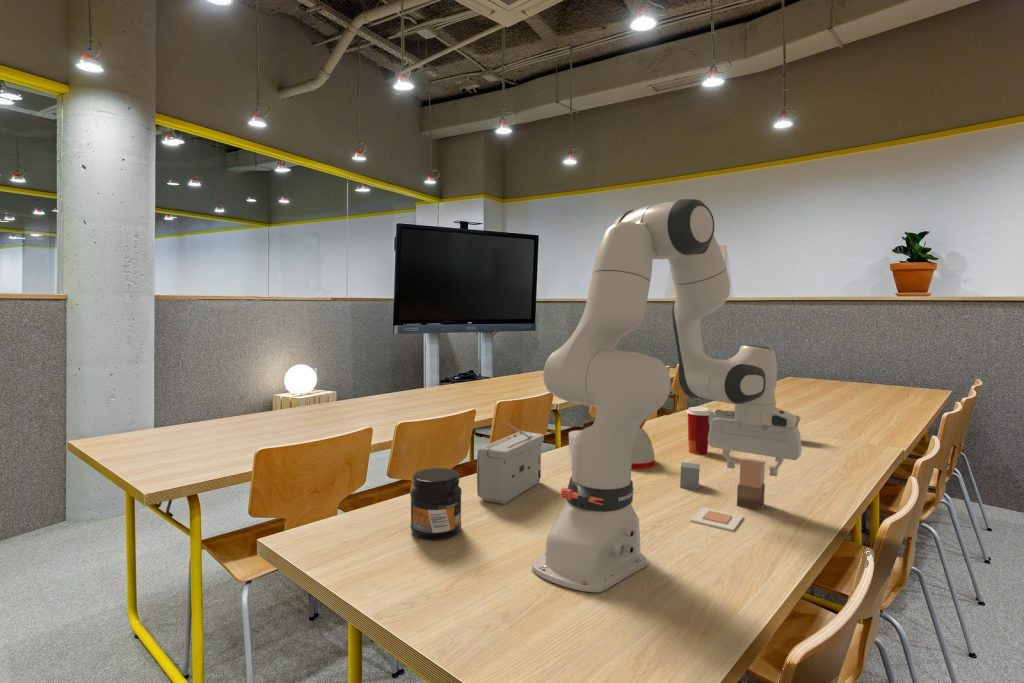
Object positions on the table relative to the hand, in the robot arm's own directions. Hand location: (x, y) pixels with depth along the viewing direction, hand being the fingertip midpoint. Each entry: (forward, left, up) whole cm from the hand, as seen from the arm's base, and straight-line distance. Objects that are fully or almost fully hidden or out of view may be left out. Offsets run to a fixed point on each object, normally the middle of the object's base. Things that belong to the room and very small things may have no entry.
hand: (751, 471), depth 132 cm
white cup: (+2, +46, -8) cm, 47 cm away
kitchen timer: (+16, +37, -8) cm, 41 cm away
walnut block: (0, 0, -8) cm, 8 cm away
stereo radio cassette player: (-26, +51, -8) cm, 58 cm away
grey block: (+5, +16, -8) cm, 19 cm away
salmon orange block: (0, 0, -3) cm, 3 cm away
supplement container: (-55, +50, -8) cm, 75 cm away
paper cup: (+39, +24, -8) cm, 47 cm away
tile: (-14, +4, -8) cm, 17 cm away
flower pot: (+73, +4, -8) cm, 74 cm away
